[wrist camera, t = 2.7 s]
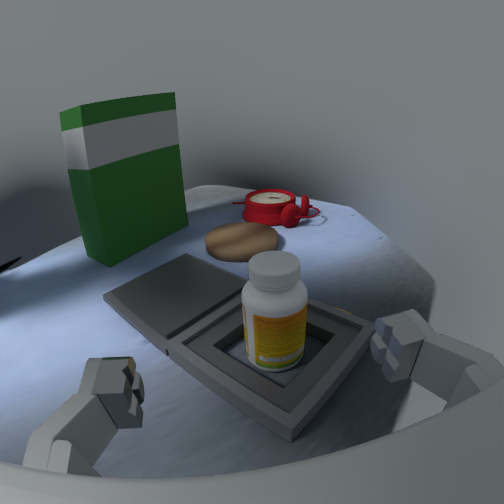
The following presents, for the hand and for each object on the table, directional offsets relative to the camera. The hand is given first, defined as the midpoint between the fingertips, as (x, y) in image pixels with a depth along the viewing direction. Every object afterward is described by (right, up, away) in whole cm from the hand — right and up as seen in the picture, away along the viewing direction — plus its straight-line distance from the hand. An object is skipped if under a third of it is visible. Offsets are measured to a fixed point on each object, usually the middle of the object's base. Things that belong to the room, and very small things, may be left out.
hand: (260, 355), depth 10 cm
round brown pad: (-2, +4, +40) cm, 40 cm away
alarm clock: (+5, +9, +50) cm, 51 cm away
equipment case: (-3, -4, +24) cm, 24 cm away
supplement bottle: (+2, -6, +19) cm, 20 cm away
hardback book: (-20, +5, +44) cm, 48 cm away
